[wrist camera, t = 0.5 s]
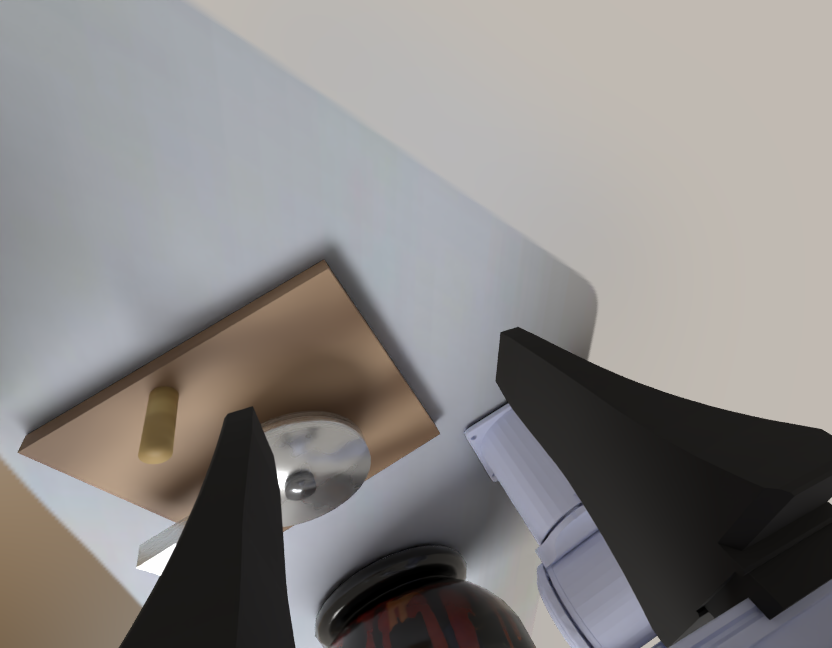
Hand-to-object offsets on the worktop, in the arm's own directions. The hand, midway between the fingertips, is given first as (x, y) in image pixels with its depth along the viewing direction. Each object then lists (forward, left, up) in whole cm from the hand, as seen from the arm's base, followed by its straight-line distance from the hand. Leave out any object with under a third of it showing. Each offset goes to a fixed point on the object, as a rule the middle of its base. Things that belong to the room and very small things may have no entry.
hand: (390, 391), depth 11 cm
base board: (-8, +8, -10) cm, 16 cm away
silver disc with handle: (-9, +10, -7) cm, 15 cm away
